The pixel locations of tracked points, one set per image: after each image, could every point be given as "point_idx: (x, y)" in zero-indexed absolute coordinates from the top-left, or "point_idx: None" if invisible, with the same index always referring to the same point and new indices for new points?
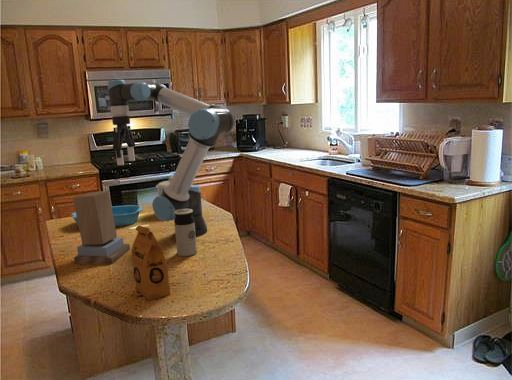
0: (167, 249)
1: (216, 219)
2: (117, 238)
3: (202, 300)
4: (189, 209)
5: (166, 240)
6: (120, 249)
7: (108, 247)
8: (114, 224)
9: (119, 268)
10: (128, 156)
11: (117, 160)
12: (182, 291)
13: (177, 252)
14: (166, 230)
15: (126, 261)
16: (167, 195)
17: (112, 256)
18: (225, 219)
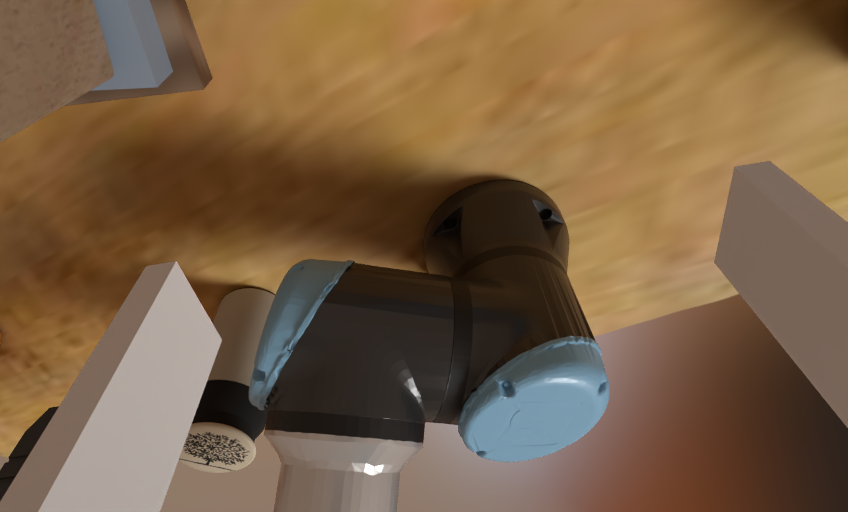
0: (270, 237)
1: (683, 270)
2: (130, 64)
3: (4, 432)
4: (243, 460)
5: (373, 186)
6: (116, 90)
7: None
8: (72, 100)
9: (12, 159)
10: (794, 223)
11: (113, 338)
12: (11, 390)
13: (225, 299)
14: (526, 116)
15: (85, 145)
16: (265, 426)
17: None
18: (673, 301)
